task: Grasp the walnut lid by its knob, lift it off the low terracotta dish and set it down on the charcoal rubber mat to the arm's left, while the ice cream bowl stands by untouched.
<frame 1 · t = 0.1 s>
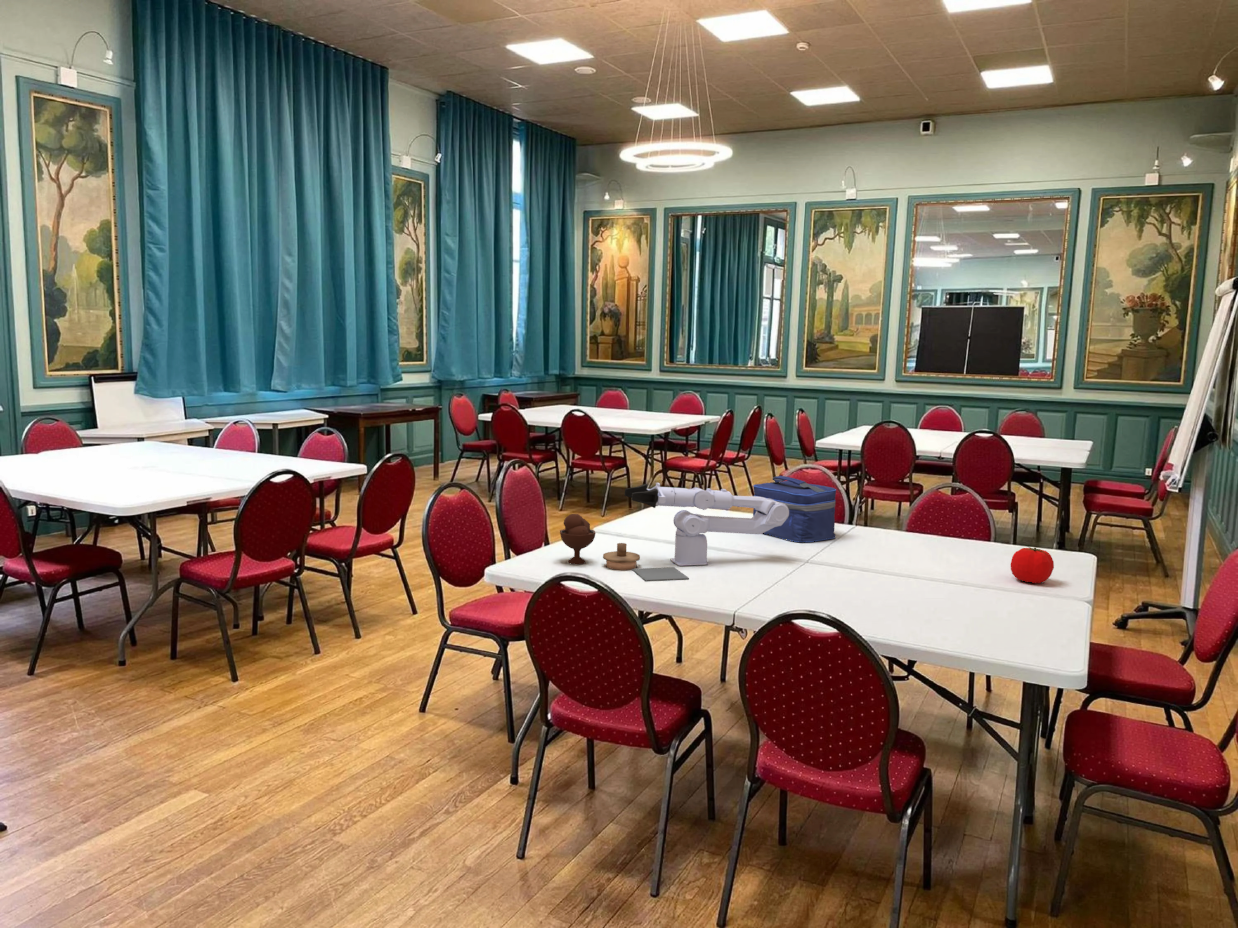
hand: (628, 494, 271), 22 cm above the table, tool horizontal, fingers open, 7 cm apart
lunch bag: (792, 535, 327), on the table
ice cream bowl: (576, 562, 276), on the table
lid: (621, 558, 272), point 2 cm above the table, touching dish
tomato: (1030, 582, 269), on the table
mat: (660, 574, 264), on the table
dish: (621, 566, 273), on the table
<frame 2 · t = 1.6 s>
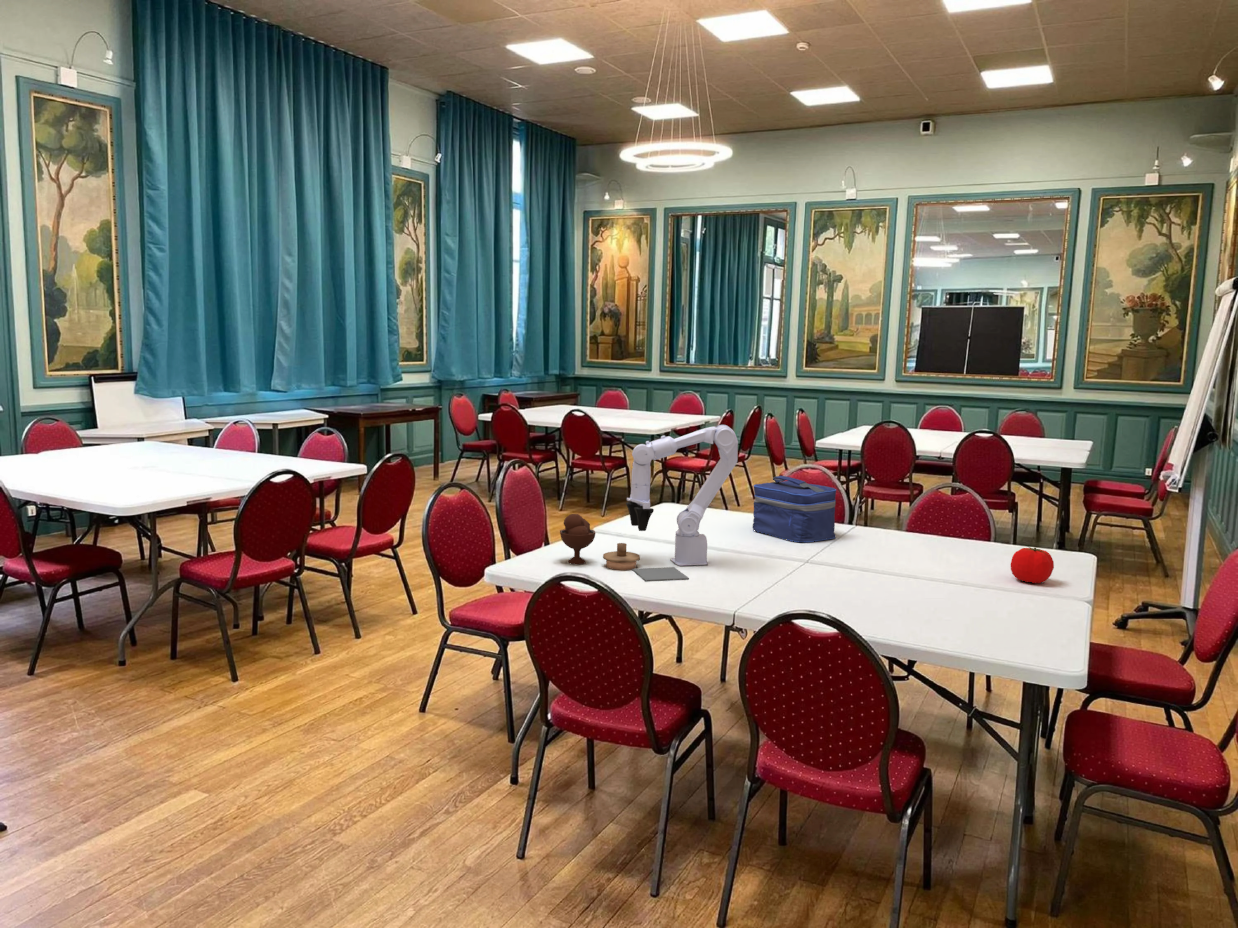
hand: (638, 528, 278), 10 cm above the table, tool pointing down, fingers open, 7 cm apart
nothing on the table moved.
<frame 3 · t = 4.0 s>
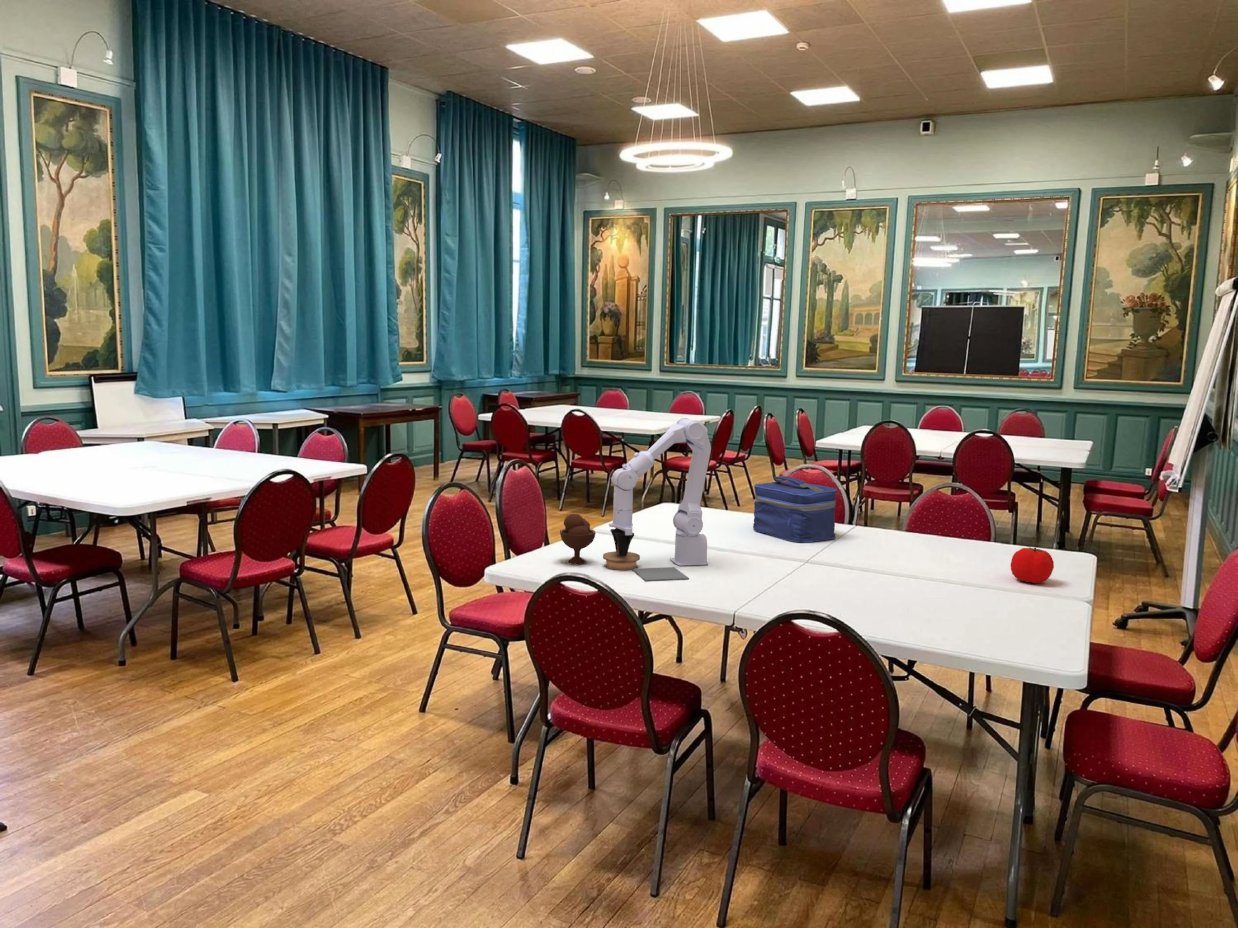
hand: (621, 554, 272), 4 cm above the table, tool pointing down, fingers closed on lid, 3 cm apart
lid: (621, 558, 272), point 2 cm above the table, touching dish, gripper
everything else where it was.
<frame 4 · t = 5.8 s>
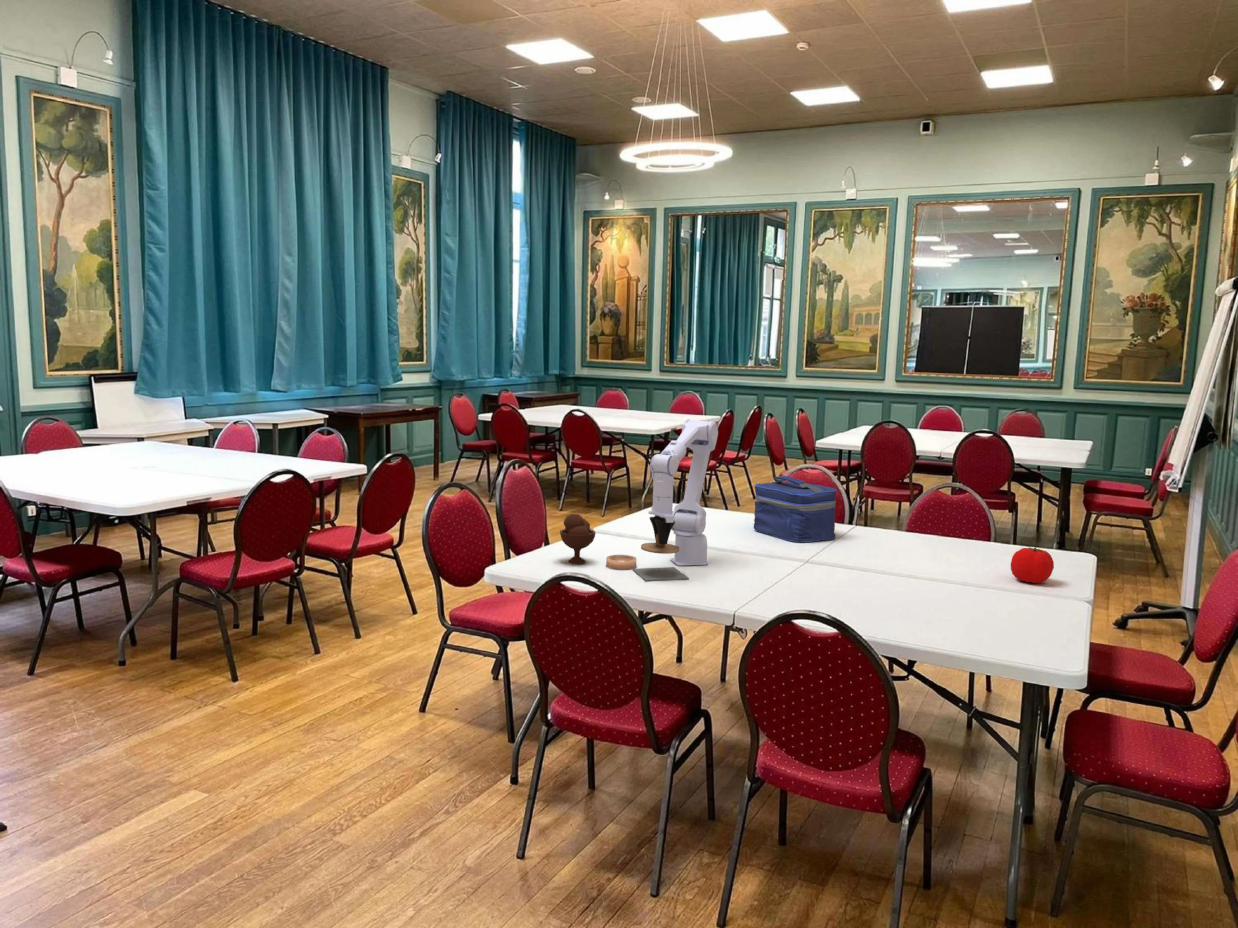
hand: (661, 542, 263), 9 cm above the table, tool pointing down, fingers closed on lid, 3 cm apart
lid: (660, 549, 263), point 8 cm above the table, touching gripper
everything else where it was.
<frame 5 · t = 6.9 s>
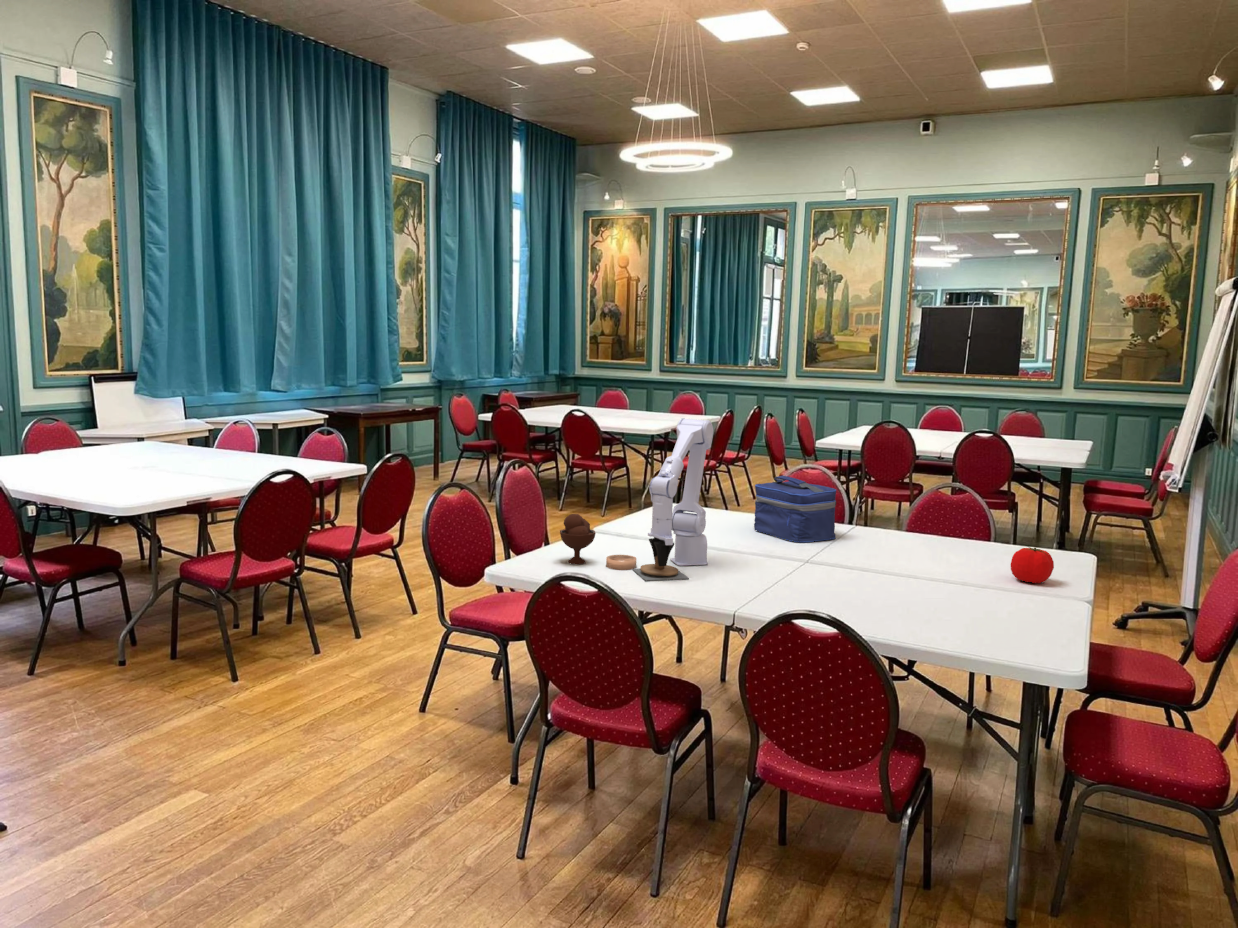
hand: (660, 564, 264), 3 cm above the table, tool pointing down, fingers closed on lid, 3 cm apart
lid: (659, 571, 264), point 1 cm above the table, touching gripper
everything else where it was.
when the fingers open (3 cm above the table, at t = 7.6 s): lid stays where it is, resting on mat.
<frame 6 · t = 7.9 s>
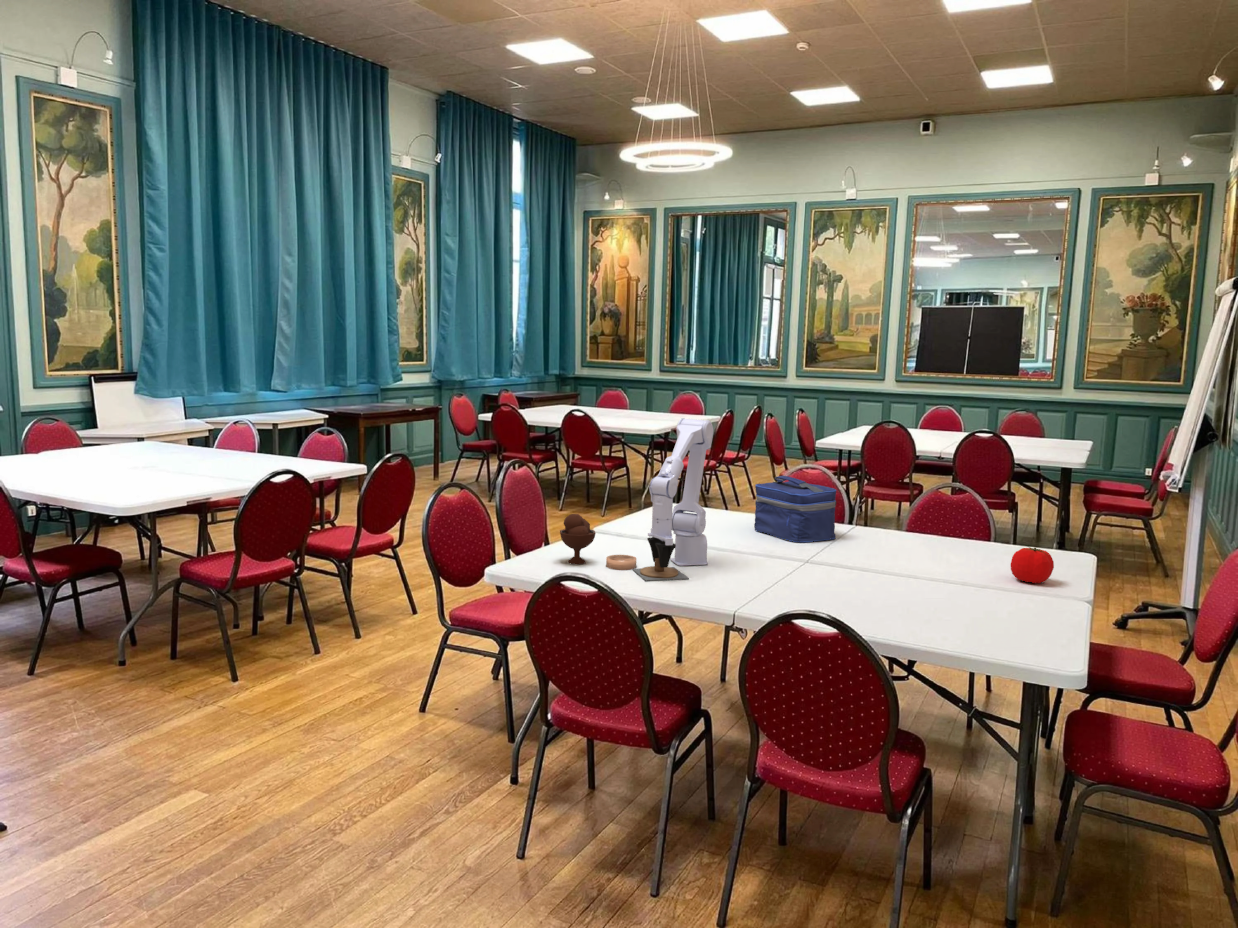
hand: (660, 564, 264), 3 cm above the table, tool pointing down, fingers open, 6 cm apart
lid: (659, 573, 264), resting on mat
everything else where it was.
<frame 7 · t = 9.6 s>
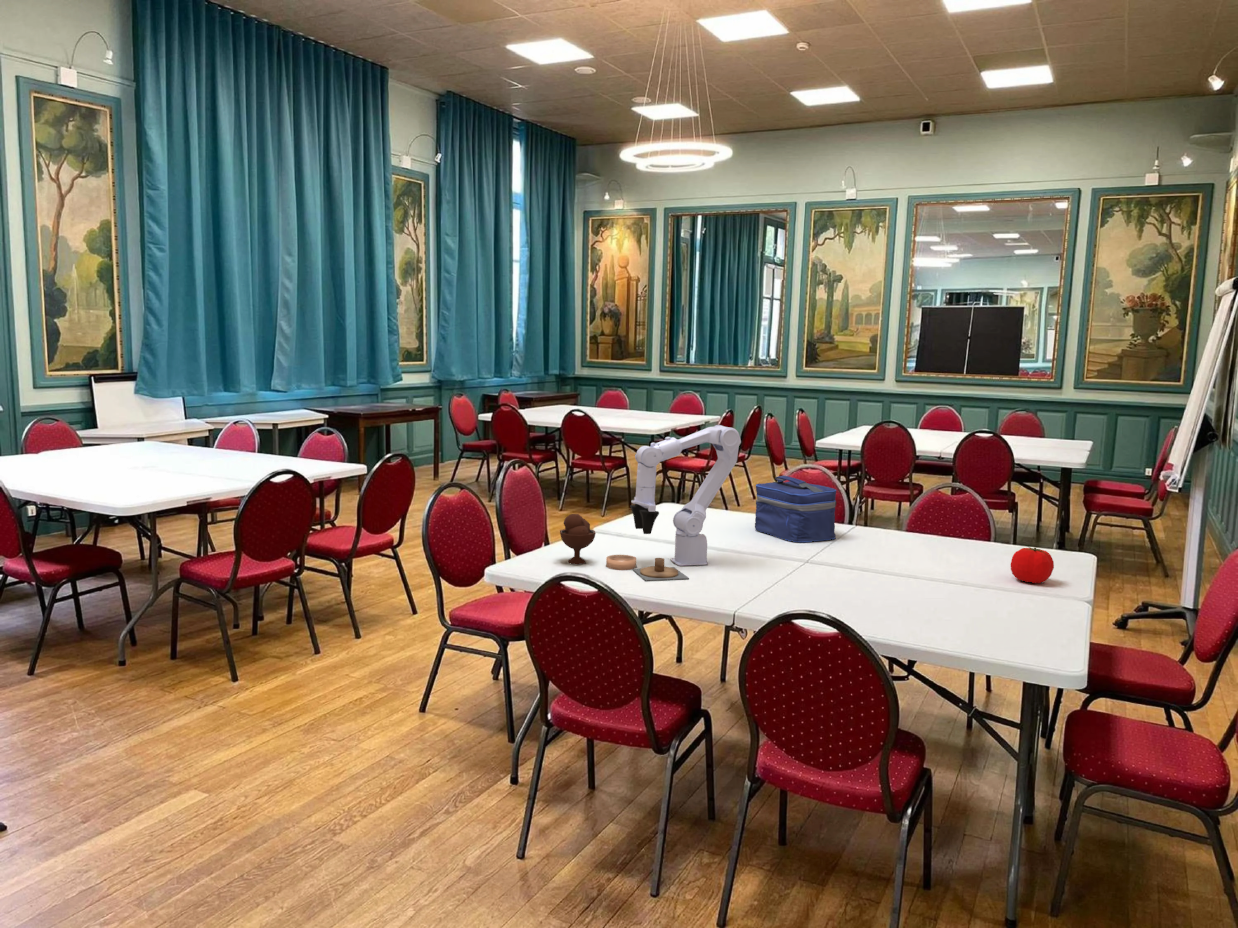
hand: (642, 531, 274), 10 cm above the table, tool pointing down, fingers open, 7 cm apart
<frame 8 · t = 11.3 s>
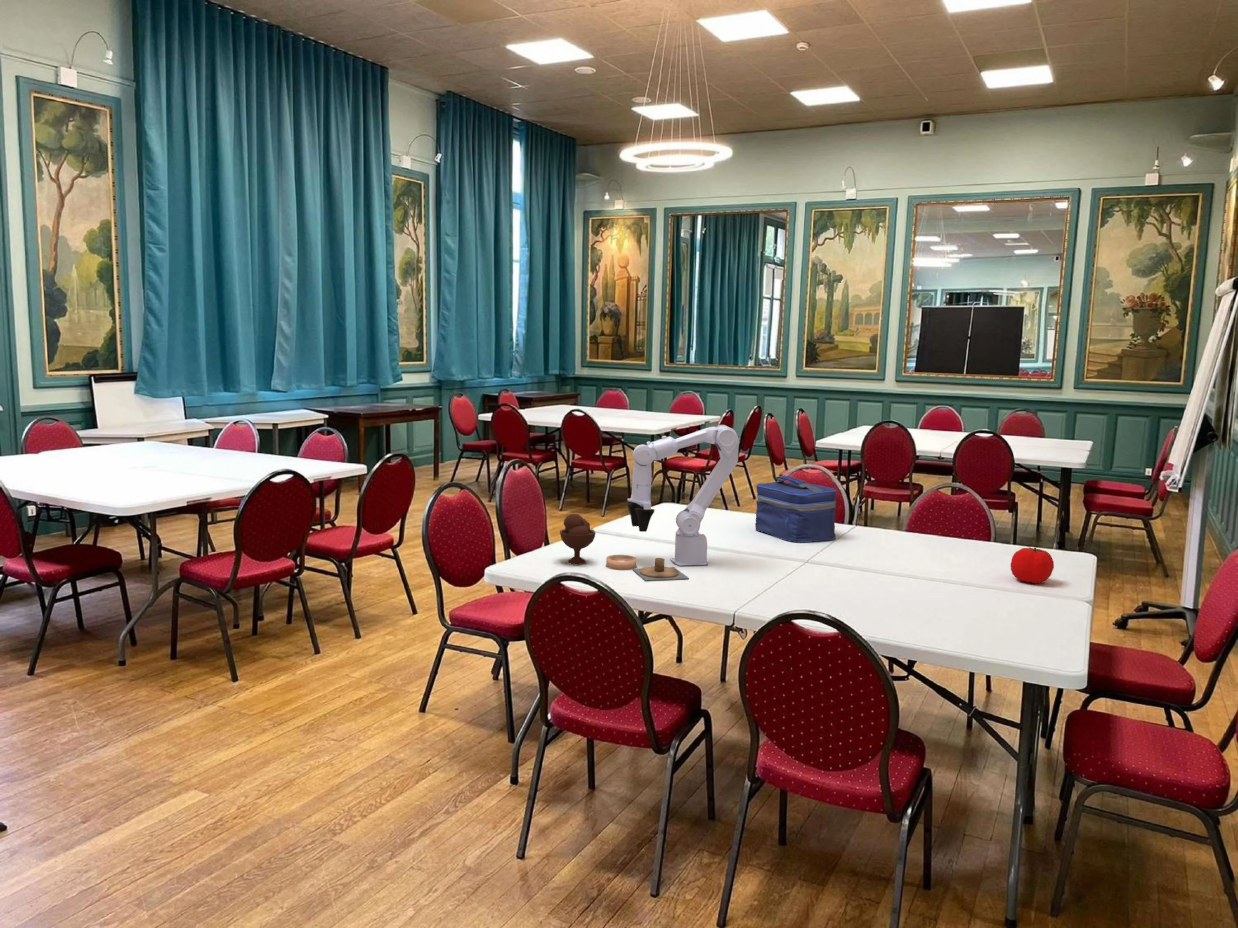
hand: (639, 528, 277), 10 cm above the table, tool pointing down, fingers open, 7 cm apart
at the end: lid inside the target area on the mat (0.3 cm from its centre), point 0.4 cm above the mat's base; lid moved 14.3 cm from its start; the gripper is holding nothing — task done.
